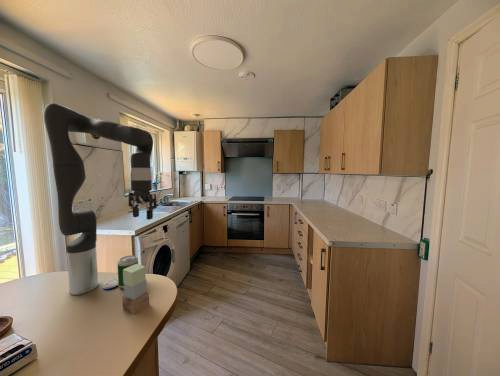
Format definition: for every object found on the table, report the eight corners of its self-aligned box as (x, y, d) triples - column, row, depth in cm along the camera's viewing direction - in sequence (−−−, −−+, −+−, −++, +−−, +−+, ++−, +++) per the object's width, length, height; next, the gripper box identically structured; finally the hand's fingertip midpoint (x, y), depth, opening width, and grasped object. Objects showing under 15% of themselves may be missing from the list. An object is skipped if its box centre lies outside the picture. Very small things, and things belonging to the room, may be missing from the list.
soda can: (129, 291, 81) (128, 263, 80) (114, 288, 83) (112, 261, 82) (142, 281, 88) (141, 255, 87) (128, 279, 90) (127, 253, 89)
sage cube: (123, 283, 69) (122, 269, 69) (136, 276, 74) (136, 263, 74) (132, 286, 67) (131, 272, 67) (145, 279, 72) (145, 266, 71)
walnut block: (123, 309, 70) (122, 296, 70) (138, 300, 76) (138, 287, 75) (133, 315, 68) (133, 301, 67) (149, 304, 73) (148, 291, 73)
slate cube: (124, 296, 70) (123, 283, 69) (137, 288, 74) (136, 276, 74) (134, 300, 68) (133, 286, 68) (146, 292, 73) (146, 279, 72)
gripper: (121, 178, 80) (123, 218, 81) (144, 179, 74) (146, 222, 75) (138, 178, 86) (139, 214, 88) (161, 179, 80) (162, 218, 82)
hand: (142, 218), depth 81 cm, fingers open, 8 cm apart
